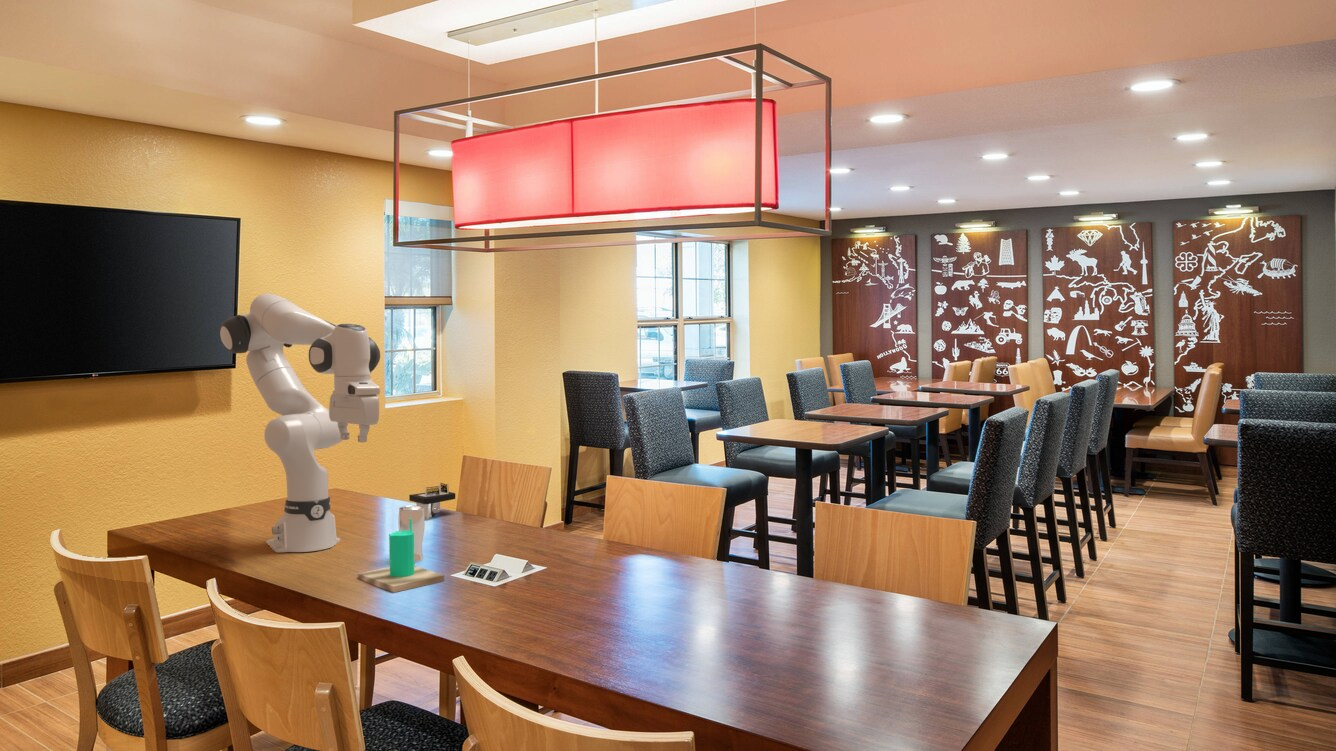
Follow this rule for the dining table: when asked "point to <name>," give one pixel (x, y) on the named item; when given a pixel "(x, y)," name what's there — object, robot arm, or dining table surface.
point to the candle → (401, 553)
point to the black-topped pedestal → (432, 499)
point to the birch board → (400, 579)
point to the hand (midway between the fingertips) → (353, 440)
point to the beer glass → (413, 526)
